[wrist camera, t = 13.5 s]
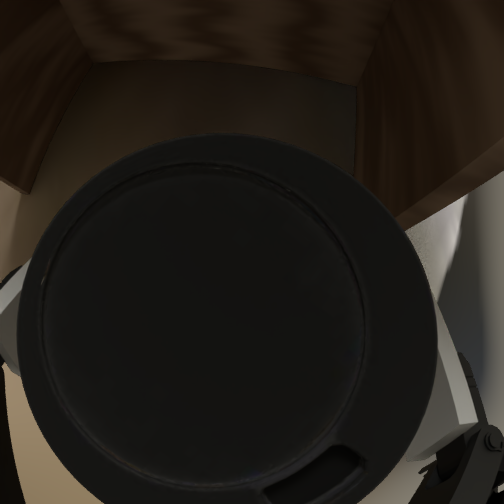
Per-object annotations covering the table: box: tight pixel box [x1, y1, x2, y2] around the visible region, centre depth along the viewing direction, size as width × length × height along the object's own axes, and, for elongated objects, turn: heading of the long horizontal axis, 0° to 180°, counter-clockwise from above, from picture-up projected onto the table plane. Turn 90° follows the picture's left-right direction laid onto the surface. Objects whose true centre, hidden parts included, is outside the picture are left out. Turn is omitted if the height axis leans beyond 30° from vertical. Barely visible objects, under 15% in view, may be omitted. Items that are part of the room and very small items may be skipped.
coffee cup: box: [16, 133, 438, 504], centre depth 12 cm, size 9×9×15 cm
